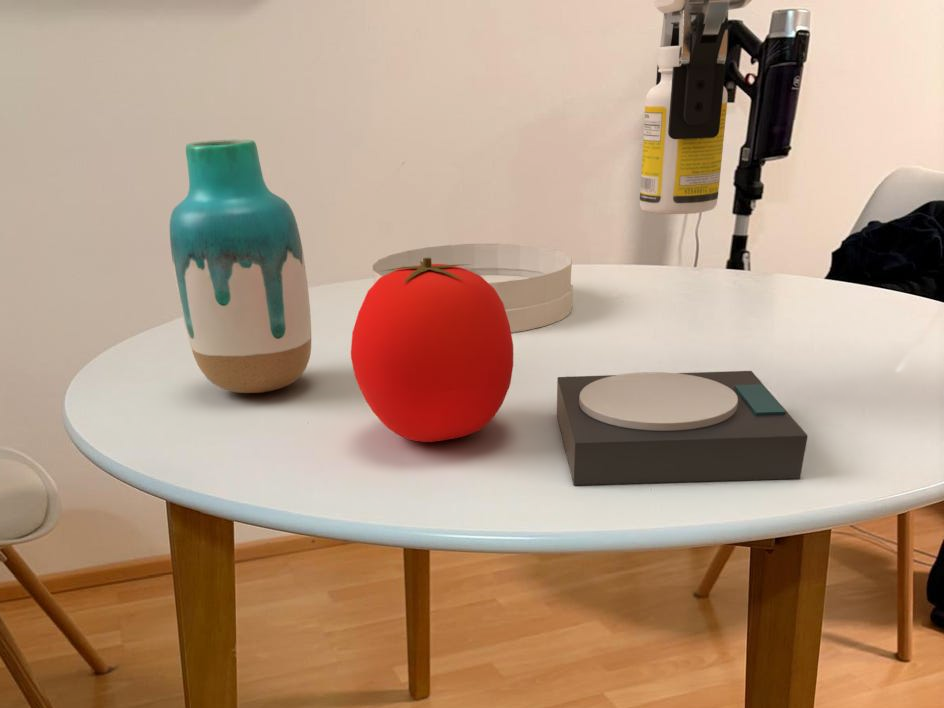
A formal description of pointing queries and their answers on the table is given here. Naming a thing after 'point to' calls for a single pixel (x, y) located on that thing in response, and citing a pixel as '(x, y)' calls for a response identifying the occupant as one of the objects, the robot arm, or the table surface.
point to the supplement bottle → (677, 154)
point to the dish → (505, 277)
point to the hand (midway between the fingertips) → (684, 130)
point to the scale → (676, 428)
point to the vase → (240, 272)
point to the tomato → (432, 351)
